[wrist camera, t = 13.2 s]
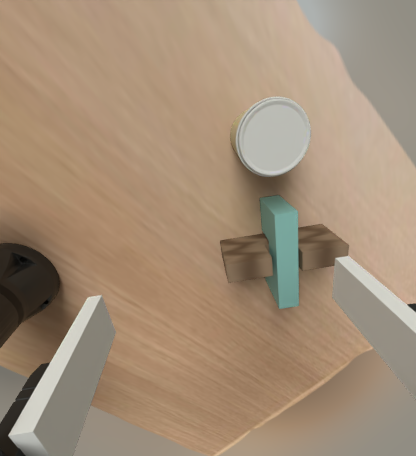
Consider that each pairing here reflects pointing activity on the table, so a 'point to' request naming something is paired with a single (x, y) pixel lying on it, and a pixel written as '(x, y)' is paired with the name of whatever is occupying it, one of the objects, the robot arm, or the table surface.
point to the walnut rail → (262, 261)
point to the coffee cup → (271, 136)
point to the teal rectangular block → (282, 249)
